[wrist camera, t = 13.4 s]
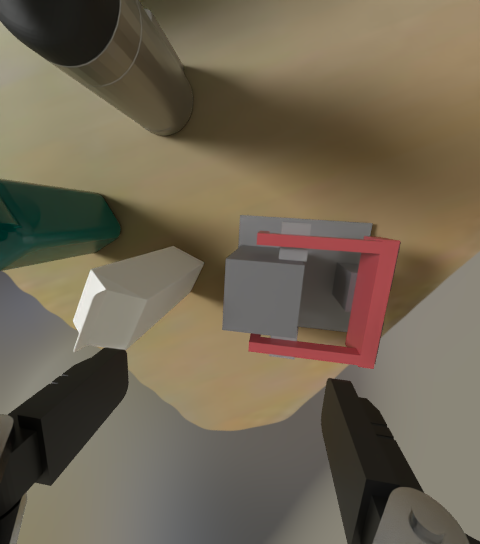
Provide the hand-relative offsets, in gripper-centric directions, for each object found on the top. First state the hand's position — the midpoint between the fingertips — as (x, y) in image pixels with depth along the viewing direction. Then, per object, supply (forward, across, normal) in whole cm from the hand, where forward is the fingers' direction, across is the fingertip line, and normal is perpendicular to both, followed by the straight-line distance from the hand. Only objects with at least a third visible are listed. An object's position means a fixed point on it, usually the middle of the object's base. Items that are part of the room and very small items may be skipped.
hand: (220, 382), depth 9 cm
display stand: (+30, -6, +2) cm, 31 cm away
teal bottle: (+30, +28, -4) cm, 41 cm away
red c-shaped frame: (+22, -7, +2) cm, 23 cm away
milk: (+30, +13, +3) cm, 33 cm away
